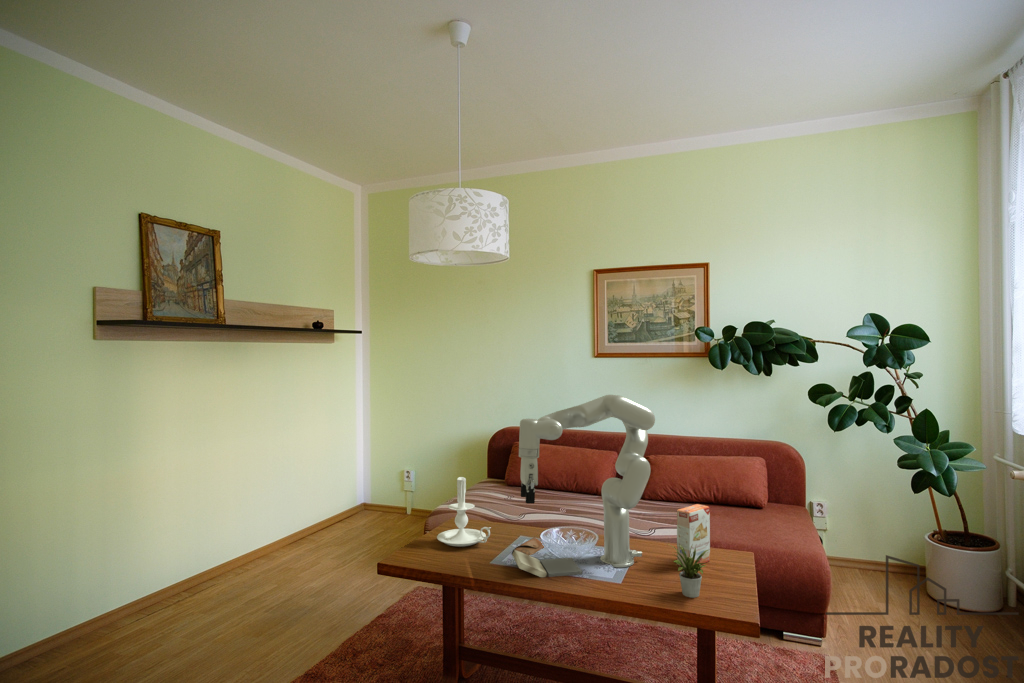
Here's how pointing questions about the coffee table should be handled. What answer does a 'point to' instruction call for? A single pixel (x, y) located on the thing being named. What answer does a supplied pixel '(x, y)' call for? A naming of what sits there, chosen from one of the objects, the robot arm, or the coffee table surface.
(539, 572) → the ash plank
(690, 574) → the house plant
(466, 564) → the coffee table surface
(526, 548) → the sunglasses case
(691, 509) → the cracker box
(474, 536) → the candlestick
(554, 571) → the floor board
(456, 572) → the coffee table surface
